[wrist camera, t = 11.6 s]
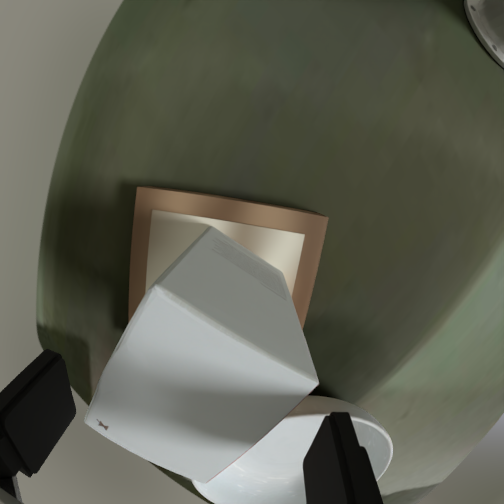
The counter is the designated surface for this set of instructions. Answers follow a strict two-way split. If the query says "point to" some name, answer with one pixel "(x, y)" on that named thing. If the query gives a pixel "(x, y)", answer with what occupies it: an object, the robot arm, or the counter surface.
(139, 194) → the picture frame
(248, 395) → the small box
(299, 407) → the serving bowl
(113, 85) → the counter surface
